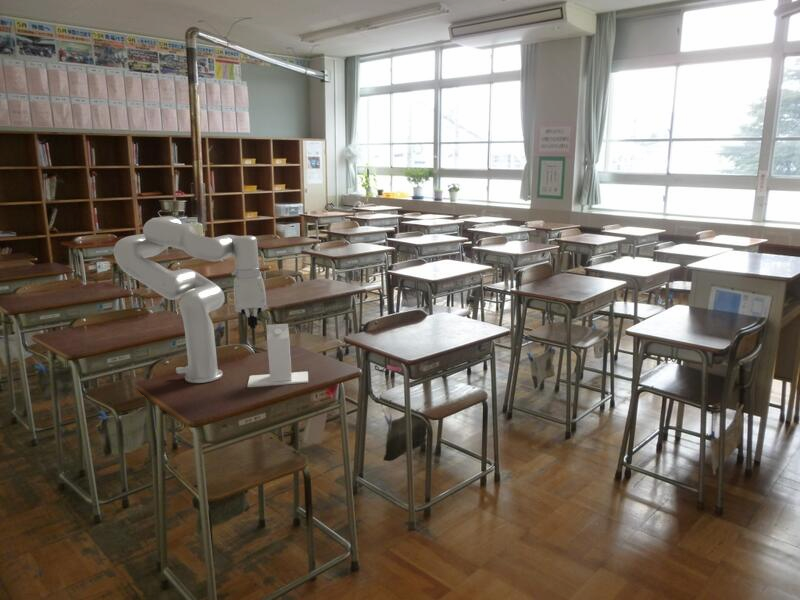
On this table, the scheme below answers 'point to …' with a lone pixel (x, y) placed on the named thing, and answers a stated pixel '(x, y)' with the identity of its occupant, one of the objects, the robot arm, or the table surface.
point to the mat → (265, 381)
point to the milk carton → (279, 352)
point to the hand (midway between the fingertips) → (253, 327)
